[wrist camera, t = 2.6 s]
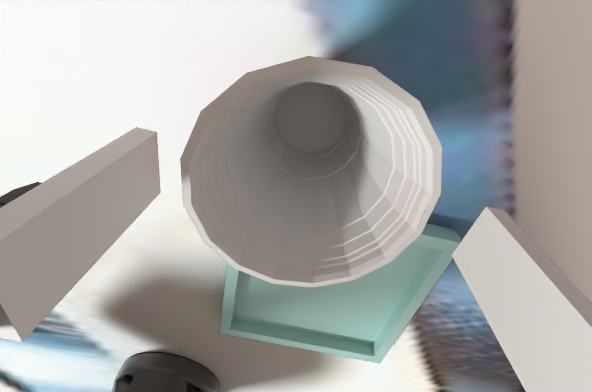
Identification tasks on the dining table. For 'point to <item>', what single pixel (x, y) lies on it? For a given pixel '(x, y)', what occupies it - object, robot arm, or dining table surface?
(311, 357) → the dining table surface
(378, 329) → the tray
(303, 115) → the plastic cup
